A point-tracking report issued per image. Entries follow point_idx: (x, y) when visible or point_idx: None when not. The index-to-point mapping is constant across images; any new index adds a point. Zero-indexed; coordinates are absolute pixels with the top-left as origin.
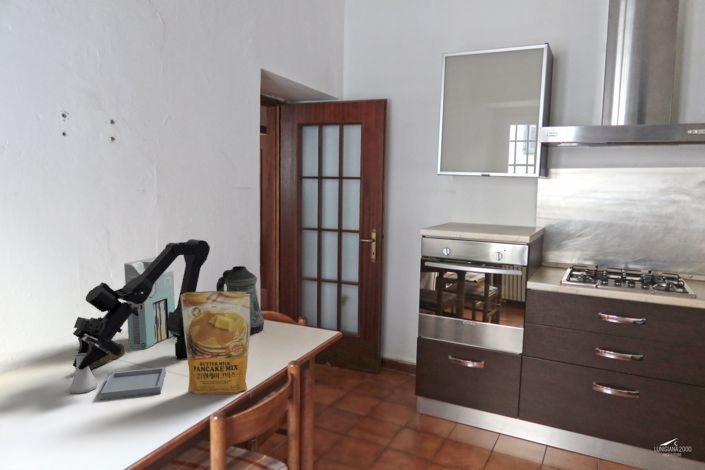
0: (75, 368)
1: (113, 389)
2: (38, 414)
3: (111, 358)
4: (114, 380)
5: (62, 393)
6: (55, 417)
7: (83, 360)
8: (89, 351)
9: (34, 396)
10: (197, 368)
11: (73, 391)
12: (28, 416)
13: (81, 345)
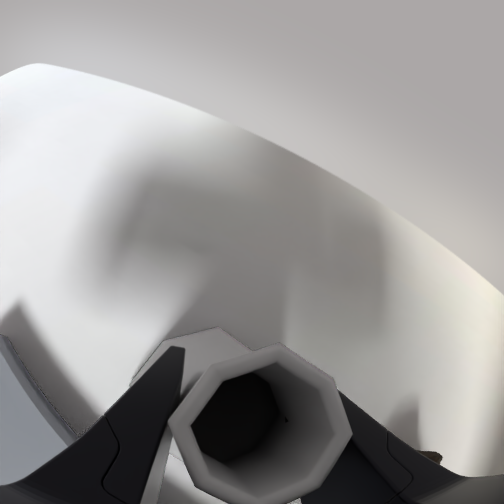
0: (427, 451)
1: (23, 430)
2: (137, 154)
3: None
4: None
5: (246, 311)
6: (61, 165)
7: (142, 391)
8: (84, 495)
9: (316, 236)
10: None
11: (192, 334)
12: (156, 136)
13: (444, 497)
